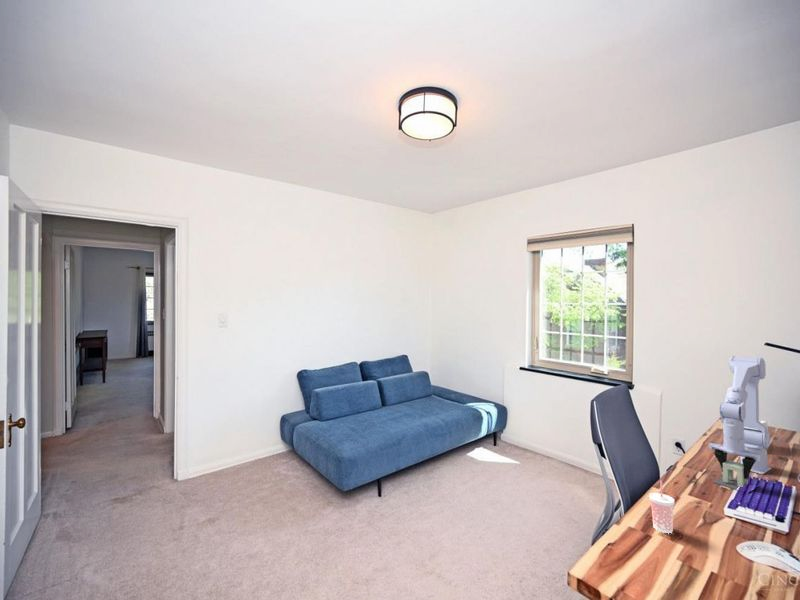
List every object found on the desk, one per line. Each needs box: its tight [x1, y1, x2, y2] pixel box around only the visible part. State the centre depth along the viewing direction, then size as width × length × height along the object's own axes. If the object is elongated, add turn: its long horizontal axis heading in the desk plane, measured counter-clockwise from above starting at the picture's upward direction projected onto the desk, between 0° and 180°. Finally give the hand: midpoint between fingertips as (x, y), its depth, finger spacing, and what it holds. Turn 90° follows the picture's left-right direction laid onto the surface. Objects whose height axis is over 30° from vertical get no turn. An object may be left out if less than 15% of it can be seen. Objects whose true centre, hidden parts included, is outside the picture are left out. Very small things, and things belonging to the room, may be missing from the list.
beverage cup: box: [648, 479, 676, 535], centre depth 110 cm, size 6×6×14 cm
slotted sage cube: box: [722, 459, 749, 487], centre depth 136 cm, size 6×6×6 cm
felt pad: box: [712, 475, 739, 491], centre depth 136 cm, size 10×10×1 cm
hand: (735, 474), depth 136 cm, fingers closed on slotted sage cube, 5 cm apart
